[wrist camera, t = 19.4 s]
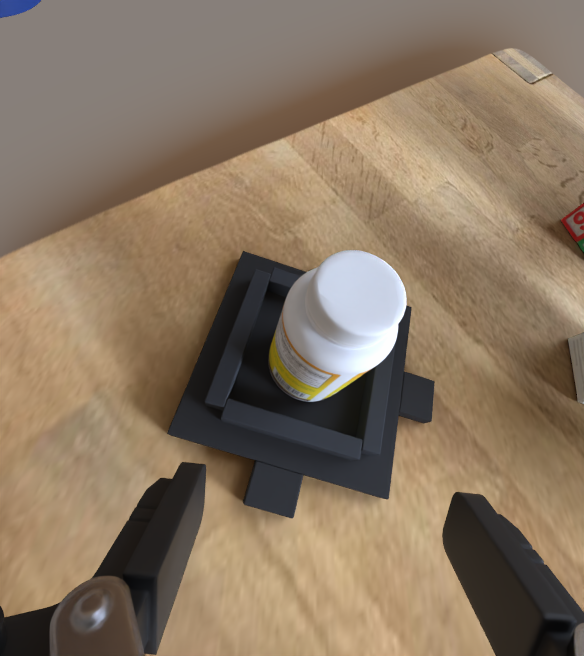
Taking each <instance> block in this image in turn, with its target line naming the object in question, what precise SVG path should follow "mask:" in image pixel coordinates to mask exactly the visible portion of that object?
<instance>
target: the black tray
mask: <svg viewBox="0 0 584 656" xmlns="http://www.w3.org/2000/svg"><path fill="white" fill-rule="evenodd" d="M305 273H307V272H305V271H302V270H299V269H296V268H293V267H290V266H287V265H284V264H281V263H278V262H275V261H272V260H269V259H266V258H263V257H260V256H257V255H254V254H251V253H248V252H245V251H243V253H242V255H241V258H240V260H239V262H238V265H237V267H236V270H235V272H234V274H233V277H232V279H231V282H230V284H229V286H228V289H227V291H226V293H225V296H224V298H223V301H222V303H221V305H220V308H219V310H218V313H217V315H216V317H215V320H214V322H213V325H212V327H211V329H210V332H209V334H208V337H207V339H206V341H205V344H204V346H203V349H202V351H201V353H200V356H199V358H198V361H197V363H196V365H195V368H194V370H193V373H192V375H191V377H190V380H189V382H188V384H187V387H186V389H185V392H184V394H183V396H182V399H181V401H180V404H179V406H178V408H177V411H176V413H175V416H174V418H173V420H172V423H171V425H170V428H169V430H168V432H167V434H169V435H171V436H175V437H178V438H181V439H185V440H188V441H192V442H195V443H198V444H202V445H205V446H208V447H212V448H215V449H218V450H222V451H225V452H228V453H232V454H235V455H239V456H242V457H245V458H249V459H252V460H255V462H254V466H253V469H252V472H251V476H250V479H249V483H248V486H247V490H246V493H245V496H244V500H243V503H244V505H247V506H251V507H254V508H258V509H261V510H265V511H268V512H272V513H275V514H278V515H282V516H285V517H289V518H293V517H294V513H295V509H296V505H297V500H298V496H299V492H300V487H301V483H302V478H303V475H306V476H309V477H312V478H316V479H319V480H322V481H326V482H329V483H333V484H336V485H339V486H343V487H346V488H349V489H353V490H356V491H359V492H363V493H366V494H369V495H373V496H376V497H380V498H383V499H389V491H390V483H391V475H392V466H393V458H394V449H395V441H396V433H397V424H398V416H402V417H405V418H408V419H412V420H415V421H418V422H421V423H427V422H431V421H432V408H433V395H434V381H432V380H429V379H426V378H423V377H420V376H417V375H414V374H410V373H407V372H404V366H405V358H406V349H407V341H408V333H409V324H410V316H411V307H409V306H406V309H405V312H404V315H403V317H402V319H401V321H400V322H399V323H398V333H397V338H396V341H395V344H394V346H393V348H392V350H391V351H390V353H389V354H388V355H387V356H386V358H385V359H384V360H383V361H382V362H380V363H379V364H378V365H377V366H375V367H374V368H372V369H371V370H369V371H368V372H366V373H365V374H363V375H362V376H360V377H359V378H357V379H356V380H354V381H353V382H352V383H350V384H349V385H347V386H346V387H344V388H343V389H341V390H340V391H338V392H337V393H335V394H334V395H332V396H331V397H329V398H327V399H324V400H321V401H315V402H308V401H302V400H298V399H295V398H293V397H291V396H289V395H288V394H286V393H285V392H284V391H282V390H281V389H280V388H279V386H278V385H277V384H276V382H275V381H274V379H273V377H272V375H271V372H270V368H269V361H268V357H269V350H270V346H271V343H272V340H273V337H274V334H275V331H276V328H277V325H278V322H279V319H280V316H281V313H282V309H283V306H284V303H285V300H286V297H287V295H288V293H289V291H290V289H291V287H292V286H293V284H294V283H295V282H296V281H297V280H298V279H299V278H300V277H301V276H302V275H304V274H305Z"/></svg>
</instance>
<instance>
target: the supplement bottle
mask: <svg viewBox="0 0 584 656" xmlns="http://www.w3.org/2000/svg"><path fill="white" fill-rule="evenodd" d="M405 309H406V293H405V288H404V286H403V283H402V281H401V279H400V278H399V276H398V274H397V273H396V272H395V270H394V269H393V268H392V267H391V266H390V265H389V264H387V263H386V262H385V261H383V260H382V259H380V258H379V257H377V256H375V255H373V254H370V253H367V252H363V251H358V250H346V251H341V252H337V253H335V254H333V255H331V256H329V257H328V258H326V259H325V260H324V261H323V262H322V263H321V265H320V266H319V267H317V268H314V269H312V270H310V271H308V272H307V273H305V274H304V275H302V276H301V277H300V278H299V279H298V280H297V281H296V282H295V283H294V284H293V286H292V287H291V289H290V291H289V293H288V295H287V297H286V300H285V303H284V306H283V309H282V313H281V316H280V319H279V322H278V325H277V328H276V331H275V334H274V337H273V340H272V343H271V346H270V350H269V357H268V361H269V368H270V372H271V375H272V377H273V379H274V381H275V382H276V384H277V385H278V386H279V388H280V389H281V390H282V391H284V392H285V393H286V394H288V395H289V396H291V397H293V398H295V399H298V400H302V401H308V402H315V401H321V400H324V399H327V398H329V397H331V396H332V395H334V394H335V393H337V392H338V391H340V390H341V389H343V388H344V387H346V386H347V385H349V384H350V383H352V382H353V381H354V380H356V379H357V378H359V377H360V376H362V375H363V374H365V373H366V372H368V371H369V370H371V369H372V368H374V367H375V366H377V365H378V364H379V363H380V362H382V361H383V360H384V359H385V358H386V356H387V355H388V354H389V353H390V351H391V350H392V348H393V346H394V344H395V341H396V338H397V333H398V323H399V322H400V321H401V319H402V317H403V315H404V312H405Z"/></svg>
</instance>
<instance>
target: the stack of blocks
mask: <svg viewBox="0 0 584 656" xmlns="http://www.w3.org/2000/svg"><path fill="white" fill-rule="evenodd" d="M561 221H562V223H563V224H564V226H565V227H566V229H567V230H568V231H569V233H570V234H571V236H572V237H573V239H574V240H575V241H576V242H577V243H578V245H579V247H580V248H581V250H582V251H583V253H584V203H583V204H581V205H580V206H579V207H577V208H576V209H575V210H574V211H572V212H571V213H569V214H568V215H566V216H565V217H564V218H562V219H561Z"/></svg>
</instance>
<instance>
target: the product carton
mask: <svg viewBox="0 0 584 656" xmlns="http://www.w3.org/2000/svg"><path fill="white" fill-rule="evenodd" d="M568 343H569V349H570V354H571V361H572V367H573V373H574V380H575V386H576V392H577V400H578V402H579V403H582V404H584V332H583V333H581V334H578V335H576V336H573V337H571V338H568Z"/></svg>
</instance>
